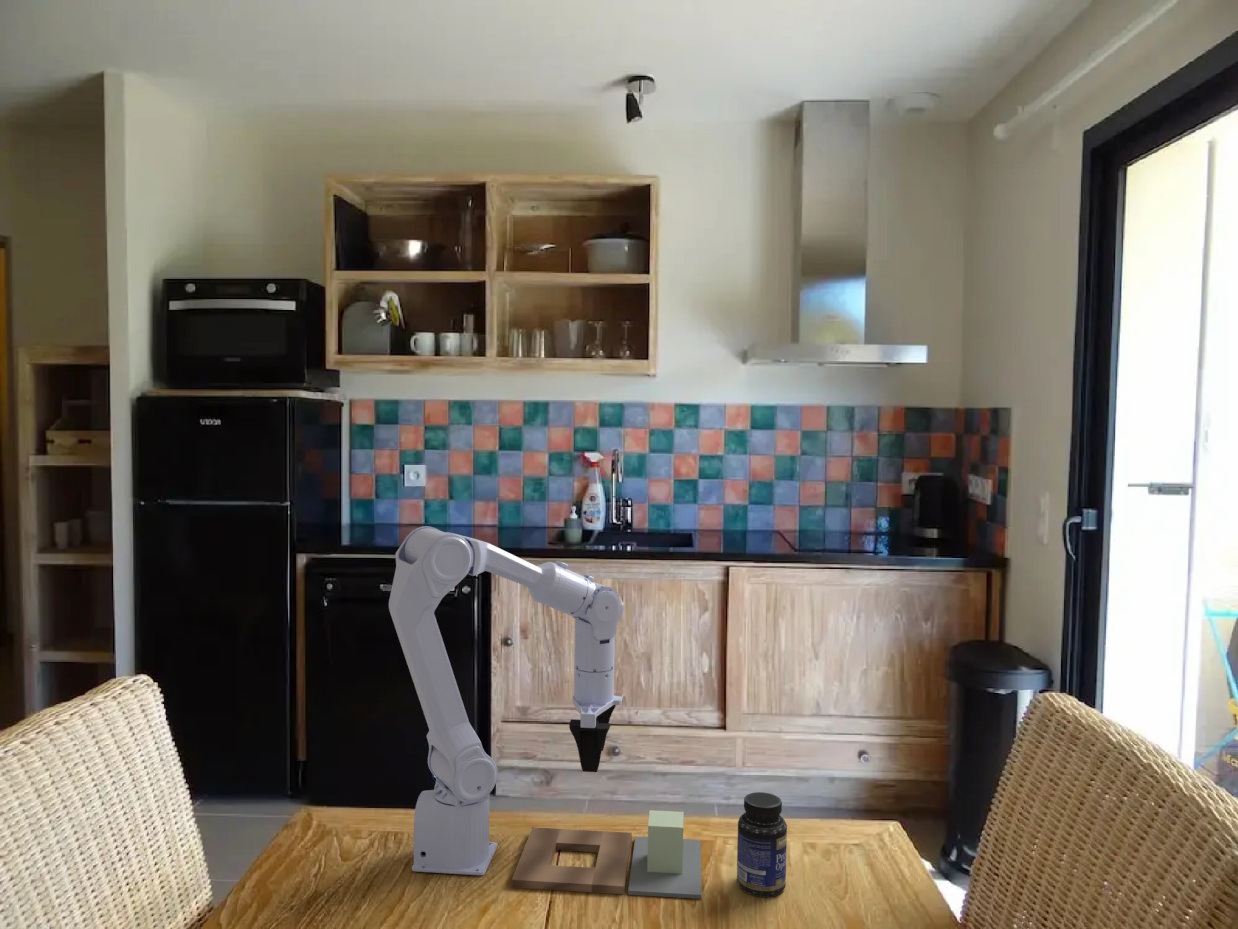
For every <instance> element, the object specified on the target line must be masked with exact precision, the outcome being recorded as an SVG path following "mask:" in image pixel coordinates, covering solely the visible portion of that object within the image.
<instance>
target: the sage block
mask: <svg viewBox="0 0 1238 929" xmlns="http://www.w3.org/2000/svg"><path fill="white" fill-rule="evenodd" d="M684 812H685V811H672V810H651V809H650V810H649V813H648V814H649V815H648V822H647V837H648V859H647V872H662V873H679V874H682V873H683V839H684V814H685V813H684Z"/></svg>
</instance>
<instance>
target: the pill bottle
mask: <svg viewBox="0 0 1238 929" xmlns="http://www.w3.org/2000/svg"><path fill="white" fill-rule="evenodd" d="M743 809H744V811H745V812H744V813H742V814H741V815H740V816H739V817H738V821H737V854H736V861H737V862H736V882H737V884H738V886H739V888H741V890H742V891H744V892H746V893H747V894H750V895H752V896H755V897H761V898H763V897H765V898H767V897H769V898H770V897H775V896H779V895H780V894H781V893H783V892H784V890H785V888H786V885H787V882H786V880H787V878H786V877H787V847H788V846H787V842H788V841H787V838H788V837H787V836H788V825H787V822H786V820H785V819H784V818H783V816H781V813H782V810H783V801H782V799H781V798H780V797H779V796H777V795H775V794H774V793H769V792H763V791H761V792H759V791H756V792H750V793H748V794H746V795H745V796H744V799H743Z"/></svg>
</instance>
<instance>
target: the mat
mask: <svg viewBox="0 0 1238 929" xmlns="http://www.w3.org/2000/svg"><path fill="white" fill-rule="evenodd" d="M701 846H702V845H701V839H692V838H691V839H688V838H687V839H686V838H683V873H682V874H679V873H662V872H647V859H648V836H635V839H634V844H633V852H632V859H631V867H630V874H629V875H630V876H629V880H628V886H627V887H628V888H627V895H629V896H647V897H660V898H662V897H664V898H665V897H666V898H682V899H695V900H696V899H697V900H698V899H699V900H700V899H701V900H702V898H703V897H702V896H703V895H702V894H703V893H702V855H701V854H702V851H701V850H702V849H701V848H702V847H701Z"/></svg>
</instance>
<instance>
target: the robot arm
mask: <svg viewBox="0 0 1238 929" xmlns="http://www.w3.org/2000/svg"><path fill="white" fill-rule="evenodd" d="M394 554H395V565H396V566H395V571H394V576H393V579H392V580H393V581H392V586H391V590H390V596H389V599H388V610H389V613H390V616H391V619H392V622H393V625H394V628H395V631H396V634H397V637H398V640H399V643H400V646H401V649H402V652H403V655H404V658H405V661H406V665H407V666H408V667H407V668H408V669H409V670H408V671H409V673H410V676H411V679H412V682H413V684H414V688H415V691H416V694H417V697H418V700H419V702H420V705H421V710H422V711H423V716H424V718H425V721H426V723H427V727H428V732H427V734H426V739H427V743H428V756H427V765H428V769H429V770H430V772H431V773H432V775H433V776H434V777H435V784H434V788H433V789H429V790H422V791H421V792H420V794H419V795H418V798H417V801H416V804H415V809H414V816H413V817H414V818H413V865H412V866H411V871H412V872H420V873H435V874H436V873H437V874H450V875H452V874H454V875H466V876H467V875H470V876H484V875H485V873H486V872H487V869H488V868H489V866H490V863H491V861H492V859H493V857H494V854H495V853H496V850H497V848H498V843H497V842H494V841H490V794H491V792H492V791H493V789H494V788H495V785H496V783H497V781H498V771H499V770H498V767H497V764H496V762H495V760H494V759H493V758H492V757H491V756H490V755H488V754H487V753H486V751H485V749H484V748H483V744H482V742H481V740H480V738H479V736H478V734H477V733H476V731H475V730H474V728H473V726H472V725H471V723H470V721H469V717H468V714H467V711H466V709H465V706H464V702H463V700H462V696H461V693H460V690H459V686H458V684H457V680H456V678H455V677H456V676H455V675H454V671H453V668H452V665H451V662H450V659H449V656H448V653H447V650H446V646H445V643H444V640H443V636H442V634H441V631H440V628H439V624H438V622H437V618H436V615H435V611H436V609H437V608H438V606H439V604H440V603H441V601H442V600H443V598H444V597H445V596H446V595H448V593H450V591H452V590H453V588H455V587H456V586H457V585H458V584H459V583H460V582H461V581H462V580H464V579H465V578H466V577H467V575H469V576H472V577H474V576H478V575H479V574H481V573H483V572H487V573H492V574H494V575H496V576H498V577H502V578H503V579H506V580H509V581H512V582H514V583H517V584H519V585H522V586H524V587H526V588H527V589H528V592H529V595H530V597H531V598H532V600H533V601H534V602H537V603H540V604H542V605H544V606H547V607H549V608H550V609H553V610H556V611H558V612H561V613H564V614H565V615H568V616H571V617H572V618H573V619H574V622H575V623H574V674H573V675H574V678H573V681H574V682H573V684H574V685H573V696H572V704H573V706H574V707H575V708H576V711H578V713H579V715H580V719H573V718H572V719H570V721H569V725H568V728H569V730H570V733H571V734H572V736H573V738H574V741H575V744H576V746H577V752H578V756H579V762H580V767H581V771H582V772H585V773H586V772H587V773H597V772H598V771H599V767H600V763H601V756H602V752H603V751H604V748H605V745H606V740H607V739H606V738H607V734H608V732H609V731H610V728H611V726H612V725H611V723H609V722H610V719H611V717H612V714H613V712H614V710H615V708H616V706H620V705H622V702H623V696H622V695H621V696H620V695H615V659H616V658H615V654H616V653H615V652H616V651H615V648H616V646H615V643H616V634H617V625H618V623H619V621H620V619H621V618H622V616H623V613H624V609H625V605H624V604H623V603H622V602H621V596H620V595H619V594H617V593H618V592H617V591H616V589H614V588H612V587H610V586H607V585H604V584H601V583H597V582H595V581H594V580H595V577H594V576H591V575H589V574H584V575H581V574H579V573H576V572H574V571H572V570H570V569H568V567H569V564H567V563H565V562H563V561H559V560H556V561H555V562H552V561H547V562H544V563H542V564H539V565H535V564H533V563H530V562H528V561H527V560H525V559H523V558H520V557H519V556H516V555H515V554H512V553H510V552H509V551H506V550H504V549H502V548H500V547H498V546H496V545H493V544H492V543H489V542H486V541H484V540H481V539H477V538H472V537H469V536H466V535H461V534H457V533H453V532H449V531H446V532H445V531H443V530H440V529H438V528H436V527H432V526H428V525H427V526H420V527H417V528H415V529H413V530H412V531H410V532H409V533H408V534H407V535H406V537H405V539H404V540H403V541H402V543H401V544H400V546H399V547H398V549H397V551H396V552H395V553H394Z"/></svg>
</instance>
